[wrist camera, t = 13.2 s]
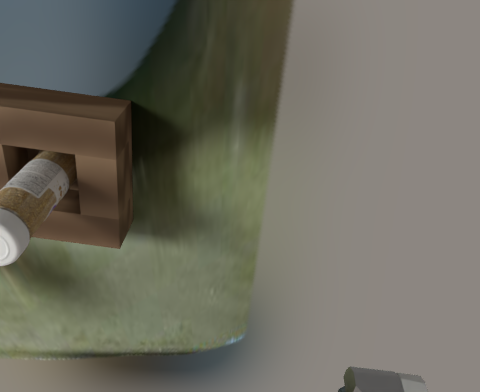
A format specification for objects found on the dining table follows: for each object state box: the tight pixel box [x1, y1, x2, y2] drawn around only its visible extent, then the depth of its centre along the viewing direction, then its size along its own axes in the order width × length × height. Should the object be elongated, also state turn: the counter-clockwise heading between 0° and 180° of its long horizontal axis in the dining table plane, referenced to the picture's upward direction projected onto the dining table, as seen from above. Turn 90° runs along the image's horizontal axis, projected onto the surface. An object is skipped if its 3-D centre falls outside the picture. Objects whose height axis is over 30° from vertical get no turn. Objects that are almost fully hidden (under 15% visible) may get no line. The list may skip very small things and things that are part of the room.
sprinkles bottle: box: [0, 150, 77, 266], centre depth 39 cm, size 5×5×13 cm
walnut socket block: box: [0, 83, 133, 249], centre depth 43 cm, size 14×14×5 cm
